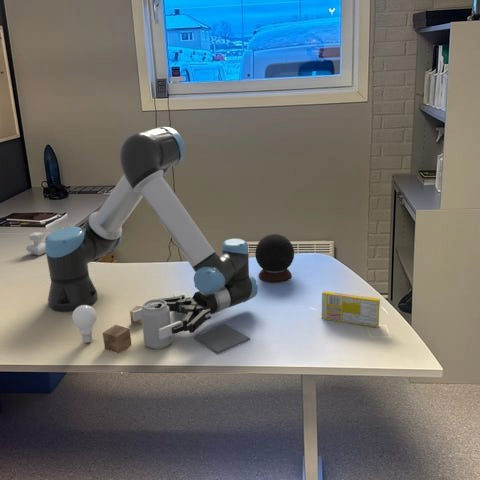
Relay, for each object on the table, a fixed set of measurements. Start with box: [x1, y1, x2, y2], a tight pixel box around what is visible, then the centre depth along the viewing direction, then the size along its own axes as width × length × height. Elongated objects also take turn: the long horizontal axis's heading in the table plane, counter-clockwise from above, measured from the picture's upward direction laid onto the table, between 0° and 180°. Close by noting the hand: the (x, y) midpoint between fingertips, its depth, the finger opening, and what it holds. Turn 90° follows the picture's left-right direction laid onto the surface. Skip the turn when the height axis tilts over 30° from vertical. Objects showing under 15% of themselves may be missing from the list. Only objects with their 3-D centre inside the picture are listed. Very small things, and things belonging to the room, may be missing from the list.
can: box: [141, 298, 173, 350], centre depth 150 cm, size 8×8×12 cm
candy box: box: [321, 290, 381, 329], centre depth 159 cm, size 16×2×8 cm, turn 66°
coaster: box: [193, 323, 251, 355], centre depth 153 cm, size 11×11×1 cm
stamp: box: [25, 231, 46, 256], centre depth 222 cm, size 9×7×8 cm
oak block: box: [129, 305, 143, 326], centre depth 164 cm, size 4×4×4 cm
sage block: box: [173, 291, 191, 316], centre depth 170 cm, size 4×4×5 cm
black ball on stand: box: [254, 233, 295, 284], centre depth 190 cm, size 13×13×15 cm
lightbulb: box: [71, 305, 97, 344], centre depth 152 cm, size 6×6×11 cm
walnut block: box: [102, 324, 132, 354], centre depth 151 cm, size 5×5×5 cm
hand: (146, 325), depth 148 cm, fingers open, 13 cm apart
